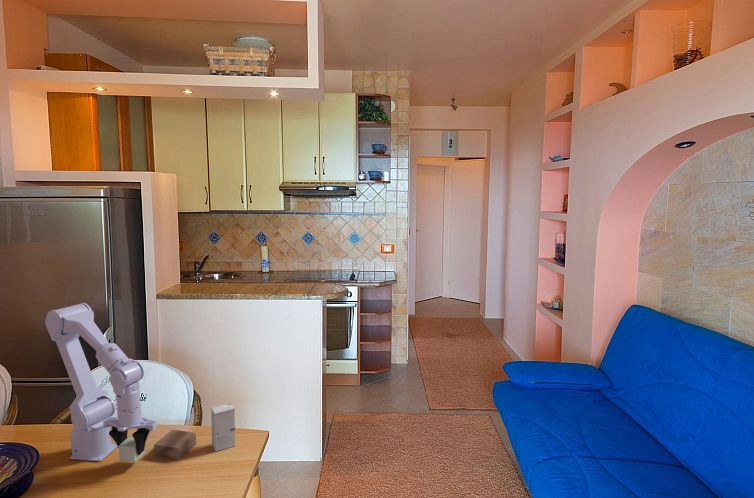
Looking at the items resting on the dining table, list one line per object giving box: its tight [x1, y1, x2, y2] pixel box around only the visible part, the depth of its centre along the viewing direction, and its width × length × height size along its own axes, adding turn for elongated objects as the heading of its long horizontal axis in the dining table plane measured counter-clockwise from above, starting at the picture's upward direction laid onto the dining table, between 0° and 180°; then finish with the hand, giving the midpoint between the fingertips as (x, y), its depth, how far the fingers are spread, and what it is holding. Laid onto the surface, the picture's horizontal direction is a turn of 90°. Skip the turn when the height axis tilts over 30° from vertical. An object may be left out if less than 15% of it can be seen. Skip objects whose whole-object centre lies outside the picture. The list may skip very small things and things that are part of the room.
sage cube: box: [118, 436, 146, 463], centre depth 124 cm, size 4×4×4 cm
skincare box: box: [210, 402, 236, 452], centre depth 133 cm, size 6×4×12 cm
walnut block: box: [153, 429, 197, 461], centre depth 131 cm, size 8×8×4 cm
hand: (132, 451), depth 124 cm, fingers closed on sage cube, 4 cm apart
